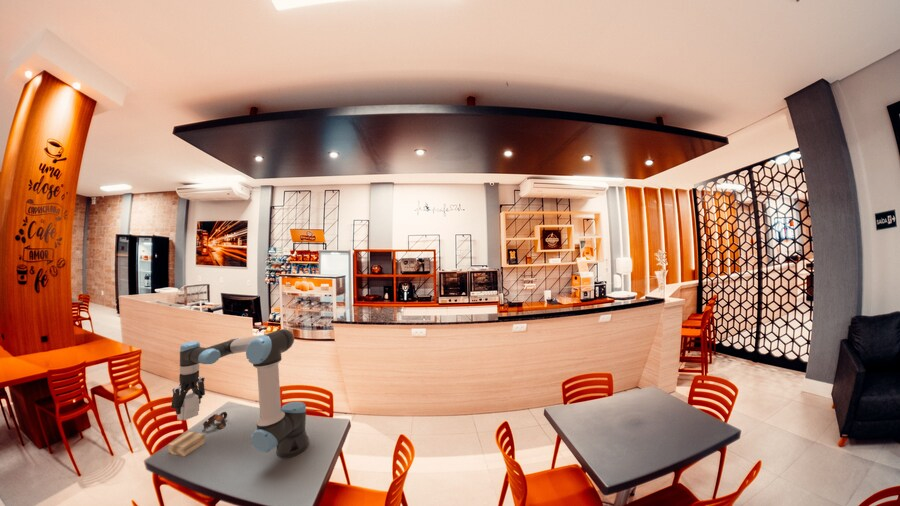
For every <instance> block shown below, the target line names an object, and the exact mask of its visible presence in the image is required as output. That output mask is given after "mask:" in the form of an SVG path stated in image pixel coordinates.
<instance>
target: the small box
mask: <svg viewBox="0 0 900 506" xmlns="http://www.w3.org/2000/svg"><path fill="white" fill-rule="evenodd" d="M182 407H183V421H187V420H189V419H192V418H194V417H197V416H199V411H198V395H197V394H195V393H193V391H191V392H188V393H187V394H186V396H185V399H184V402H183V404H182Z"/></svg>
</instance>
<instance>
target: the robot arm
mask: <svg viewBox="0 0 900 506" xmlns="http://www.w3.org/2000/svg"><path fill="white" fill-rule="evenodd" d="M294 342H295V336H294V333H293V332H292V331H290V330H289V329H286V328H285V329H284V328H283V329H278V330H274V331H272V332H269V333H266V334H263V335H262V334H261V335H256V336H248V337H243V338H238V337H237V338H236V337H235V338H232V339H230V340H226V341H224V342H221V343H217V344H213V345H211V346H207V347H202V346H201V343H200V341H197V340H191V341H187V342H184V343H181V344H180V348H179V377H178V378H179V385H178V386H176V388H175V387H174V388H172V390H171V391H172V399H171V404H170V405H171V406H170V409H173V410H175V415H177V416H176V417H177V419H176V420H179V421H184V419H183V407H182V404H183V402H184V399H185V396H186V394H187V393H189V391H190V390H192V391H191V392H193V393H195V394H197V395H198V412H199V411H200V405H201V402H202V401H201V400H202V399H203V398H204V397H203V396H205V395H206V389H205V377H200V364H201V365H214V364H215V363H216V362H218V361H219V359H221V358H223V357H227V356H229V355H233V354H238V353H239V354H240V353H245V356H246V359H247V360H248V362H249V363H250V364H251V365H252V366H253V367H254V368H255V369H256V371H257V386H258V402H259V416H260V417H259V418H258V419H257V420H256V429H255V430H254V431H253V432H252V434H251V436H250V440H251V444H252V446H253V447H254V449H256V451H258V452H261V453H268V452H271V450H273V449H274V448H275V453H276V456H278V458H279V457H280V458H287V459H288V458H292V457H295V456H297V455H299V454H302V453H303V452H304V451H305V450H306V449H307V448H308V446H309V444H310V443H309V441H310V440H309V436H308V435H307V430H306V422H307V421H306V419H307V417H306V416H307V409H306V404H305V403H304V402H302V401H290V402H287V403H285V404H284V405H281V390H280V388H281V387H280V371H279V363H281V361H282V353H285V352H286V351H289V349H290V348H292V346H293V344H294Z"/></svg>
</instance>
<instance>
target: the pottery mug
mask: <svg viewBox="0 0 900 506" xmlns="http://www.w3.org/2000/svg"><path fill="white" fill-rule="evenodd" d="M227 417H228V413H227V412H226V411H223V412H221V413H219V414H217V413H214V414H212V415H211V416H210V417H209V418H208V419H207V420H205V421H204V422H203V423H202V426H203V429H209V427H210V426H214V425H215V424H216V423H215V421H216V422H218V423H221V424H220V425H219V426H218V428H219V429H220V430H222V429H224V428H225V426H226V419H227Z"/></svg>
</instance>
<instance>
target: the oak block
mask: <svg viewBox="0 0 900 506" xmlns="http://www.w3.org/2000/svg"><path fill="white" fill-rule="evenodd" d="M205 442H206V434H205V433H199V432H195V431H188V432H186V433H185V434H184V435H181V436H180V437H178V438H176V439H174V440H173V441H172V442H169V443H168V444H167V446H168V448H167V453H168V454H169V453H171V454H170V455H173V456H174V455H175V456H180V457H186V456H187V455H188V454H190V453H191V452H194V451H195V450H197V449H199V447H201V446H202V445H204V444H205Z"/></svg>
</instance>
